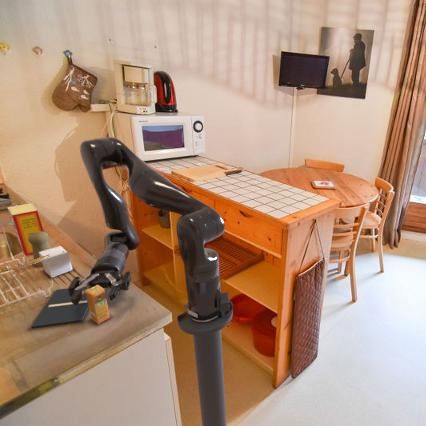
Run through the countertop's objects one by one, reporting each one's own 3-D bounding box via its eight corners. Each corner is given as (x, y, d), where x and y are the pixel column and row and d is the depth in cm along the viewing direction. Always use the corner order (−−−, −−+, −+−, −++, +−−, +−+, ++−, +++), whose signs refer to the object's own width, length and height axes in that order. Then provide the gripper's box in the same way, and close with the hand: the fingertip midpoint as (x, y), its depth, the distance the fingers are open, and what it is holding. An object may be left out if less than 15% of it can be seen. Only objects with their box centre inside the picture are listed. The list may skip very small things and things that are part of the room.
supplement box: (98, 325, 85) (90, 294, 81) (91, 319, 86) (83, 289, 82) (111, 318, 88) (104, 288, 84) (104, 313, 89) (97, 283, 85)
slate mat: (99, 286, 99) (98, 284, 99) (81, 321, 86) (81, 319, 85) (56, 291, 96) (56, 289, 96) (31, 328, 82) (30, 326, 82)
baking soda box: (20, 246, 117) (6, 206, 111) (42, 240, 122) (31, 201, 115) (25, 255, 111) (11, 214, 105) (48, 249, 116) (37, 209, 110)
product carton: (65, 263, 109) (60, 245, 106) (73, 270, 106) (68, 251, 103) (43, 271, 104) (37, 251, 101) (50, 278, 101) (44, 258, 98)
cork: (30, 267, 106) (20, 237, 102) (40, 257, 111) (31, 229, 107) (51, 265, 107) (43, 237, 103) (60, 256, 113) (52, 228, 108)
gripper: (79, 258, 93) (56, 292, 78) (134, 253, 97) (122, 284, 83) (84, 279, 95) (63, 316, 81) (138, 274, 100) (126, 307, 86)
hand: (93, 300), depth 82 cm, fingers open, 7 cm apart
